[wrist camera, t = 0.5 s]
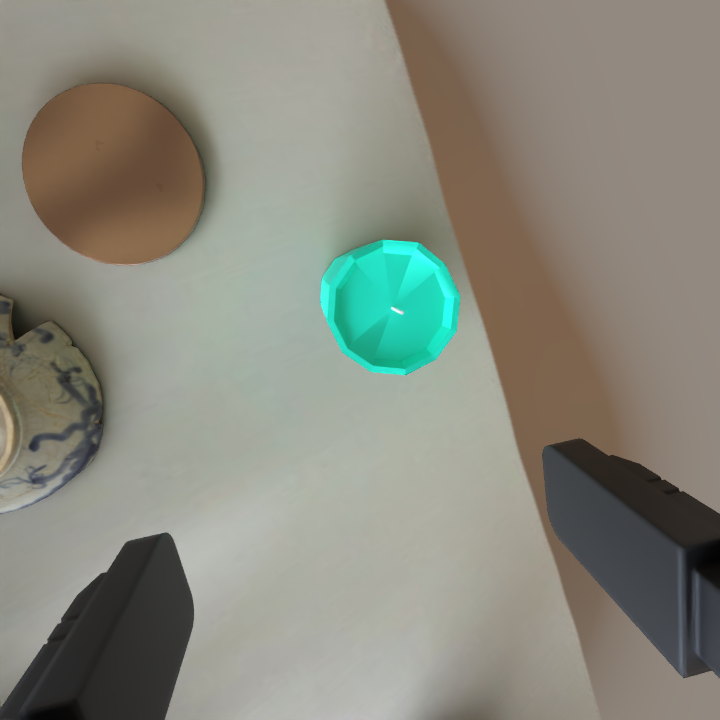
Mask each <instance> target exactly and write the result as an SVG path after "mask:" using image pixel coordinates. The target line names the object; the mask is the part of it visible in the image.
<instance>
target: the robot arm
mask: <svg viewBox="0 0 720 720" xmlns="http://www.w3.org/2000/svg"><path fill="white" fill-rule="evenodd" d="M542 458H543V469H544V480H545V491H546V501H547V510H548V516H549V519H550V522H551V525H552V527H553V529H554V531H555V533H556V535H557V536H558V538H559V539H560V540H561V542H562V543H563V544H564V545H565V546H566V547H567V548H568V550H569V551H570V552H571V553H572V554H573V555H574V556H575V557H576V559H577V560H578V561H579V562H580V563H581V564H582V565H583V566H584V567H585V569H586V570H587V571H588V572H589V573H590V574H591V575H592V576H593V578H594V579H595V580H596V581H597V582H598V583H599V584H600V585H601V587H602V588H603V589H604V590H605V591H606V592H607V593H608V594H609V595H610V597H611V598H612V599H613V600H614V601H615V602H616V603H617V604H618V606H619V607H620V608H621V609H622V610H623V611H624V612H625V613H626V614H627V616H628V617H629V618H630V619H631V620H632V621H633V622H634V623H635V625H636V626H637V627H638V628H639V629H640V630H641V631H642V632H643V634H644V635H645V636H646V637H647V638H648V639H649V640H650V641H651V643H652V644H653V645H654V646H655V647H656V648H657V649H658V650H659V651H660V653H661V654H662V655H663V656H664V657H665V658H666V659H667V660H668V662H670V664H671V665H672V666H673V667H674V668H675V669H676V671H677V672H678V673H679V674H680V675H681V676H682V677H683V678H687V677H690V676H694V675H698V674H701V673H705V672H708V671H713V672H714V673H715V674H716V675H717V676H718V677H719V678H720V514H719V513H717V512H716V511H714V510H713V509H711V508H709V507H708V506H706V505H705V504H703V503H701V502H699V501H698V500H697V499H695V498H693V497H692V496H690V495H689V494H687V493H685V492H683V491H682V492H680V491H679V489H678V488H677V487H676V486H674V485H672V484H671V483H669V482H667V481H666V480H661V478H660V476H658V475H656V474H655V473H653V472H652V471H650V470H648V469H647V468H645V467H644V466H642V465H640V464H638V463H635V462H632V461H629V460H626V459H623V458H620V457H617V456H614V455H610V456H608V455H606V454H605V453H603V452H602V451H600V450H599V449H597V448H596V447H594V446H593V445H591V444H590V443H588V442H587V441H585V440H583V439H574V440H570V441H565V442H561V443H557V444H553V445H548V446H546V447H544V449H543V454H542ZM193 621H194V605H193V598H192V594H191V591H190V588H189V585H188V582H187V579H186V576H185V573H184V570H183V567H182V564H181V561H180V558H179V555H178V552H177V549H176V546H175V543H174V540H173V538H172V537H171V535H170V534H169V533H161V534H157V535H152V536H148V537H143V538H139V539H135V540H130V541H128V542H126V543H125V545H124V546H123V547H122V549H121V551H120V552H119V554H118V555H117V557H116V559H115V560H114V562H113V563H112V565H111V566H110V568H109V570H108V571H107V572H105V573H101V574H100V575H99V576H98V577H97V578H96V579H95V580H93V581H92V582H91V583H90V584H89V585H88V586H87V587H86V588H85V589H84V590H83V591H81V592H80V593H79V594H78V595H77V596H76V598H75V599H74V601H73V602H72V604H71V605H70V607H69V608H68V610H67V611H66V613H65V614H64V616H63V617H62V619H61V623H59V624H57V626H56V627H55V629H54V630H53V632H52V633H51V635H50V636H49V638H48V639H47V640H48V643H47V644H45V645H43V647H42V648H41V650H40V651H39V653H38V654H37V655H36V657H35V658H34V660H33V661H32V663H31V664H30V666H29V667H28V669H27V670H26V672H25V673H24V675H23V676H22V678H21V679H20V681H19V682H18V684H17V685H16V687H15V688H14V690H13V691H12V692H11V694H10V695H9V697H8V698H7V700H6V701H5V703H4V704H3V706H2V707H1V709H0V720H165V716H166V713H167V710H168V707H169V703H170V700H171V697H172V694H173V690H174V687H175V684H176V681H177V677H178V674H179V671H180V667H181V664H182V661H183V658H184V654H185V651H186V648H187V645H188V641H189V638H190V635H191V632H192V628H193Z"/></svg>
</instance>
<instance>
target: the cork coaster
mask: <svg viewBox="0 0 720 720" xmlns="http://www.w3.org/2000/svg"><path fill="white" fill-rule="evenodd" d="M22 171H23V179H24V183H25V187H26V191H27V194H28V197H29V199H30V202H31V204H32V206H33V208H34V210H35V211H36V213H37V215H38V216H39V218H40V219H41V221H42V222H43V224H44V225H45V226H46V227H47V228H48V229H49V231H50V232H51V233H52V234H53V235H54V236H55V237H56V238H58V239H59V240H60V241H61V242H62V243H63V244H65V245H66V246H68V247H69V248H70V249H72V250H74V251H75V252H77V253H79V254H81V255H83V256H85V257H87V258H90V259H92V260H95V261H99V262H102V263H107V264H114V265H138V264H144V263H148V262H152V261H155V260H158V259H160V258H163V257H164V256H166V255H168V254H170V253H171V252H173V251H174V250H175V249H177V248H178V247H179V246H180V245H181V244H182V243H183V242H184V241H185V240H186V239H187V238H188V237H189V235H190V234H191V233H192V231H193V230H194V228H195V226H196V224H197V223H198V221H199V218H200V215H201V213H202V209H203V205H204V200H205V175H204V168H203V164H202V161H201V157H200V154H199V152H198V150H197V147H196V145H195V143H194V141H193V140H192V138H191V136H190V134H189V133H188V131H187V130H186V129H185V127H184V126H183V125H182V123H181V122H180V121H179V120H178V119H177V118H176V117H175V116H174V115H173V114H172V113H171V112H170V111H169V110H168V109H167V108H166V107H164V106H163V105H162V104H161V103H159V102H158V101H156V100H155V99H153V98H152V97H150V96H148V95H146V94H144V93H142V92H140V91H138V90H135V89H132V88H129V87H127V86H122V85H117V84H109V83H94V84H86V85H81V86H77V87H74V88H72V89H69V90H66V91H64V92H63V93H61V94H59V95H57V96H56V97H54V98H53V99H52V100H51V101H49V102H48V103H47V104H46V105H45V106H44V107H43V108H42V109H41V110H40V111H39V113H38V114H37V115H36V117H35V118H34V120H33V121H32V123H31V126H30V128H29V130H28V132H27V135H26V138H25V142H24V147H23V153H22Z"/></svg>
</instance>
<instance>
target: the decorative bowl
mask: <svg viewBox="0 0 720 720" xmlns="http://www.w3.org/2000/svg"><path fill="white" fill-rule="evenodd" d="M13 304H14V300H11V299H8V298H5V297H3V296H2V295H0V514H2V513H7V512H11V511H15V510H18V509H21V508H24V507H27V506H29V505H32V504H34V503H36V502H38V501H40V500H42V499H44V498H46V497H48V496H49V495H51V494H53V493H54V492H55V491H57V490H58V489H59V488H61V487H62V486H63V485H64V484H66V483H67V482H68V481H69V480H71V479H72V478H73V477H74V476H76V475H77V474H79V473H80V472H81V471H83V470H84V469H85V468H86V467H88V466H89V464H90V463H91V462H92V461H93V458H94V456H95V454H96V452H97V450H98V448H99V443H100V439H101V436H102V430H103V424H101V423H99V419H100V418H101V415H102V410H103V406H102V395H101V388H100V385H99V382H98V380H97V378H96V377H95V375H94V373H93V371H92V368H91V367H90V362H89V361H88V360H87V359H86V358H85V357H84V355H83V354H81V353H80V351H79V349H78V348H76V347H74V346H71V344H72V341H71V339H70V337H68V335H67V334H66V333H64V331H63V330H62V329H61V328H60V327H58V326H57V325H56V324H55V323H54V322H52V321H48V322H45V323H43V324H41V325H39V326H38V327H36V328H34V329H32V330H31V331H29V332H27V333H26V334H24V335H23V336H21V337H20V338H18V339H17V340H15V339H14V335H13V331H12V325H11V313H12V310H13Z"/></svg>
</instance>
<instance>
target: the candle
mask: <svg viewBox="0 0 720 720" xmlns="http://www.w3.org/2000/svg"><path fill="white" fill-rule="evenodd" d="M320 303H321V306H322V309H323V311H324V314H325V317H326V320H327V323H328V325H329V327H330V329H331V331H332V333H333V335H334V337H335V339H336V341H337V343H338V345H339V347H340V349H341V351H342V353H344V354H345V355H347V356H348V357H350V358H351V359H353V360H354V361H356V362H357V363H359V364H360V365H362V366H363V367H364V368H366V369H367V370H369V371H370V372H377V373H388V374H399V375H407V374H409V373H411V372H413V371H415V370H417V369H419V368H421V367H422V366H424V365H426V364H428V363H430V362H432V361H434V360H436V359H437V357H438V356H439V355H440V353H441V352H442V350H443V349H444V348H445V346H446V345H447V344H448V342H449V341H450V340H451V338H452V337H453V336H454V334H455V333H456V331H457V324H458V314H459V305H460V294H459V292H458V290H457V288H456V286H455V284H454V282H453V280H452V278H451V275H450V273H449V271H448V269H447V267H446V265H445V263H443V262H442V261H441V260H440V259H438V258H437V257H436V256H435V255H434V254H432V253H431V252H430V251H429V250H427V249H426V248H425V247H424V246H423V245H421V244H420V243H418V242H406V241H394V240H379V241H376V242H373V243H370V244H367V245H364V246H361V247H358V248H356V249H354V250H351V251H349V252H347V253H345V254H343V255H341V256H339V257H337V258H335V259H334V261H333V262H332V264H331V265H330V267H329V268H328V270H327V271H326V273H325V274H324V276H323V277H322V283H321V299H320Z"/></svg>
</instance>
